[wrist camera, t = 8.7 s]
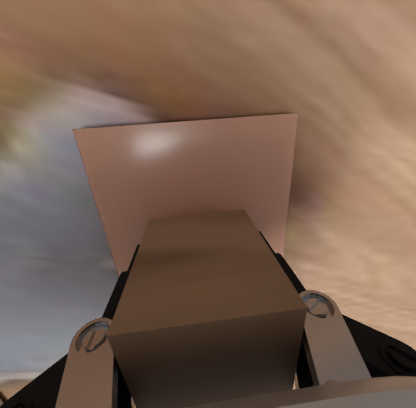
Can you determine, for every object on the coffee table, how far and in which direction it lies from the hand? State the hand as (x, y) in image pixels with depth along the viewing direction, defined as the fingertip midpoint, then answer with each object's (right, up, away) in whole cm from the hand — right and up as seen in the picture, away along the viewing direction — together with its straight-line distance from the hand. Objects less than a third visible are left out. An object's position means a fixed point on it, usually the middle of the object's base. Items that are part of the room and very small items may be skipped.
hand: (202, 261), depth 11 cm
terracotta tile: (0, +1, +3) cm, 3 cm away
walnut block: (0, 0, +1) cm, 1 cm away
